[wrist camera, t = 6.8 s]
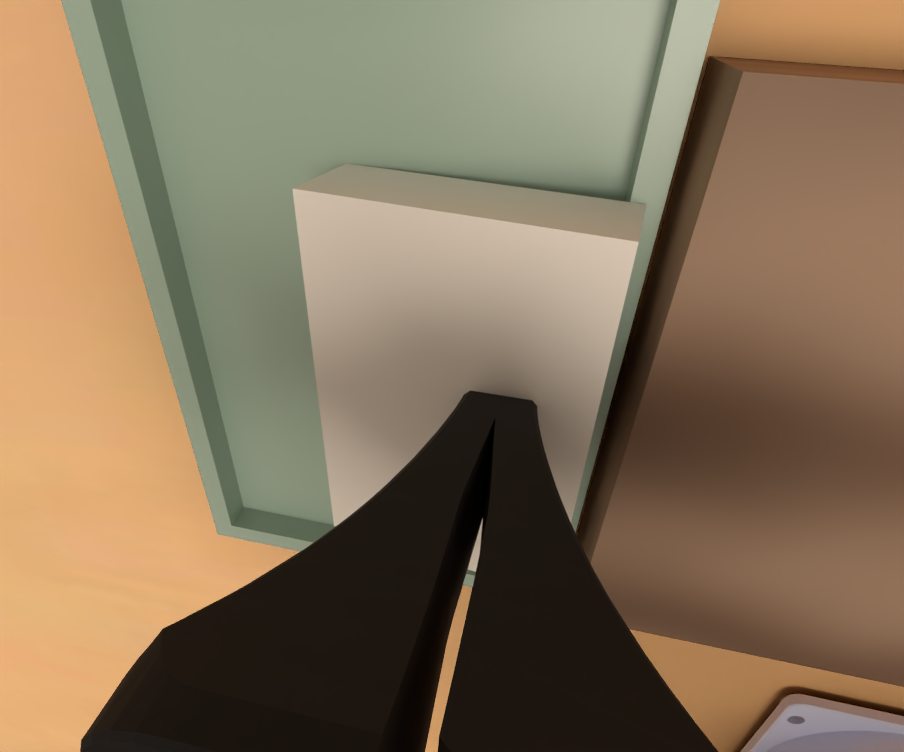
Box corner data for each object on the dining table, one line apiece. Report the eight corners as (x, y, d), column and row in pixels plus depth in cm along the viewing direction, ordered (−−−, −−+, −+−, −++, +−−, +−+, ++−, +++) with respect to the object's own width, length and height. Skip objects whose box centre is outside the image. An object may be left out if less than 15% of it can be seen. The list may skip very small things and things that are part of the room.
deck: (932, 611, 16) (983, 703, 14) (575, 543, 17) (573, 617, 15) (1412, 107, 8) (1686, 143, 6) (709, 56, 10) (743, 72, 7)
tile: (566, 535, 15) (553, 597, 13) (367, 476, 17) (334, 525, 15) (646, 204, 10) (638, 241, 8) (346, 163, 11) (292, 188, 10)
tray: (557, 571, 18) (555, 604, 17) (236, 507, 19) (217, 534, 18) (719, -55, 9) (736, -63, 8) (86, -85, 10) (33, -94, 9)
